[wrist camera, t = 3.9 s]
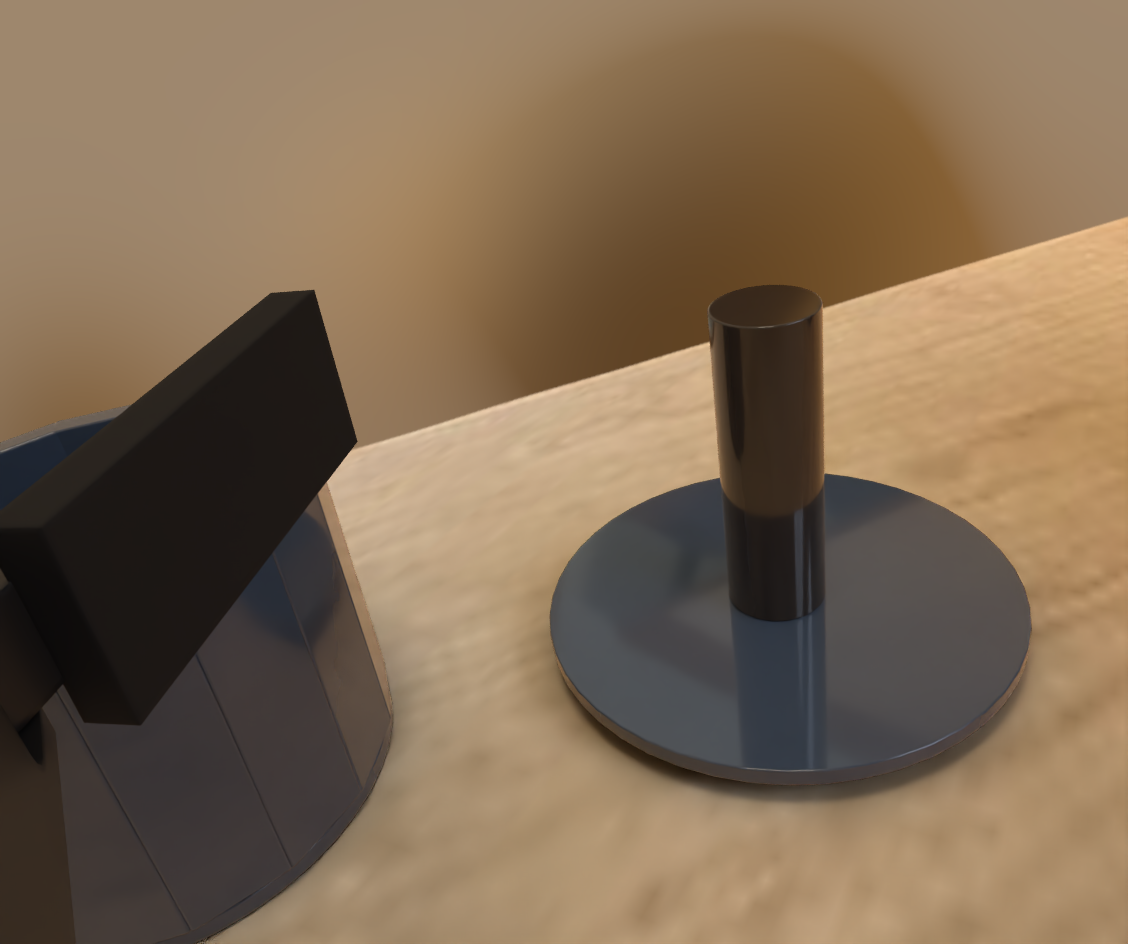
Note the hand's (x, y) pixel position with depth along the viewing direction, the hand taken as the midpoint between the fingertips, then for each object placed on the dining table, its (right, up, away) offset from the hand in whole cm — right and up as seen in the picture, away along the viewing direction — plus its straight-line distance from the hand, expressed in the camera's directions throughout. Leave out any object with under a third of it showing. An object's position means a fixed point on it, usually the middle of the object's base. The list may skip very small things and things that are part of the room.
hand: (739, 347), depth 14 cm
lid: (+4, -6, +14) cm, 16 cm away
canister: (-14, -10, +13) cm, 22 cm away
